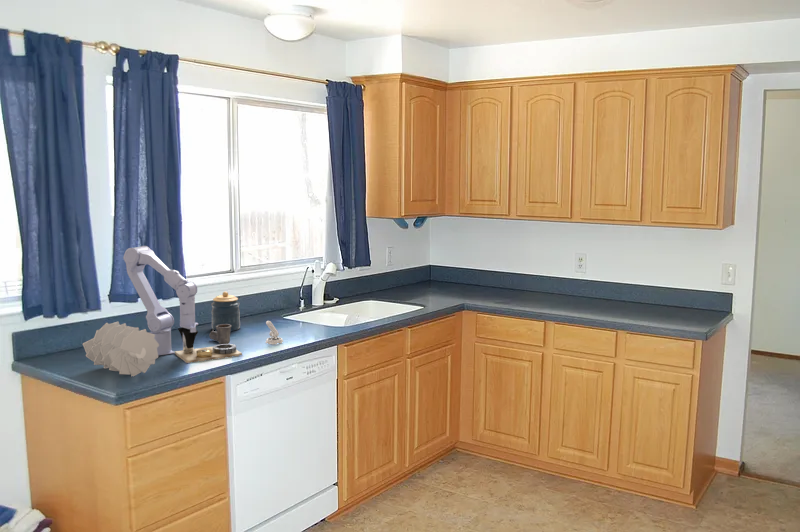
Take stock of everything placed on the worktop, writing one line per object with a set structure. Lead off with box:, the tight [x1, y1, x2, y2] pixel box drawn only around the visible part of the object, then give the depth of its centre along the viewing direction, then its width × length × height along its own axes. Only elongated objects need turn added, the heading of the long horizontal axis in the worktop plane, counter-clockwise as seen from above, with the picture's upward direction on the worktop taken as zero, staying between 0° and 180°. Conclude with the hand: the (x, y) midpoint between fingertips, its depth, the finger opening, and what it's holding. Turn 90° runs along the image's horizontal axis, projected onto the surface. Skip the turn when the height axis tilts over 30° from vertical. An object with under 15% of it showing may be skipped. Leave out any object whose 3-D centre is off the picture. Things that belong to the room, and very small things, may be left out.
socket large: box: [212, 343, 237, 354], centre depth 279 cm, size 9×9×2 cm
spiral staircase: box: [82, 321, 159, 377], centre depth 252 cm, size 18×18×25 cm
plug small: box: [196, 349, 212, 358], centre depth 272 cm, size 6×6×2 cm
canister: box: [210, 291, 241, 332], centre depth 322 cm, size 13×13×18 cm
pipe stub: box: [182, 334, 195, 353], centre depth 276 cm, size 4×4×8 cm
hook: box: [265, 320, 284, 345], centre depth 298 cm, size 8×12×7 cm
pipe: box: [208, 324, 232, 344], centre depth 297 cm, size 6×13×8 cm, turn 50°
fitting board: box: [174, 346, 243, 364], centre depth 278 cm, size 22×16×1 cm
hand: (188, 346), depth 276 cm, fingers closed on pipe stub, 4 cm apart
